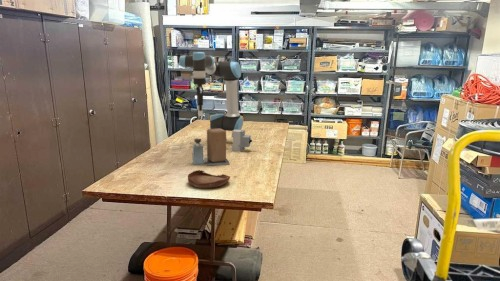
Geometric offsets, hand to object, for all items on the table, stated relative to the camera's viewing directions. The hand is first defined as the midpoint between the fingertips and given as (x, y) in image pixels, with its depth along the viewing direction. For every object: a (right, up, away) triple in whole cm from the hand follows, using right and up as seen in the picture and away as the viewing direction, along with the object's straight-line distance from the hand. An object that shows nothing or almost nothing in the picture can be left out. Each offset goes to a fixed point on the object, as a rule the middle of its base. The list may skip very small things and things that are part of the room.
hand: (200, 115), depth 215 cm
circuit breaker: (+26, -24, +36) cm, 50 cm away
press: (+6, -30, +4) cm, 31 cm away
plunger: (-2, -24, +1) cm, 24 cm away
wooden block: (+10, -29, +5) cm, 31 cm away
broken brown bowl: (+10, -39, -33) cm, 52 cm away
